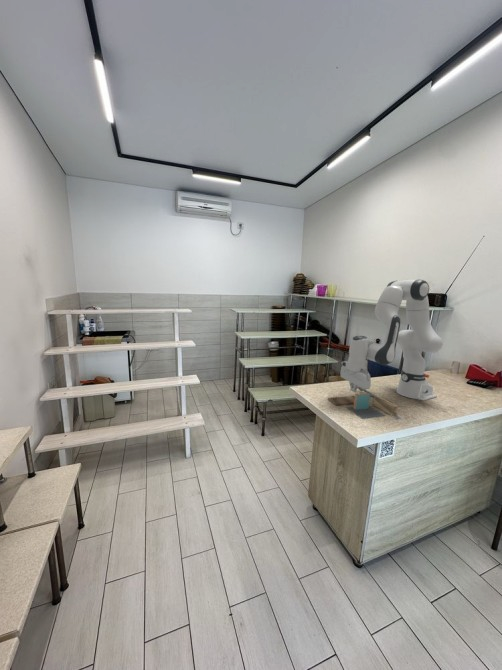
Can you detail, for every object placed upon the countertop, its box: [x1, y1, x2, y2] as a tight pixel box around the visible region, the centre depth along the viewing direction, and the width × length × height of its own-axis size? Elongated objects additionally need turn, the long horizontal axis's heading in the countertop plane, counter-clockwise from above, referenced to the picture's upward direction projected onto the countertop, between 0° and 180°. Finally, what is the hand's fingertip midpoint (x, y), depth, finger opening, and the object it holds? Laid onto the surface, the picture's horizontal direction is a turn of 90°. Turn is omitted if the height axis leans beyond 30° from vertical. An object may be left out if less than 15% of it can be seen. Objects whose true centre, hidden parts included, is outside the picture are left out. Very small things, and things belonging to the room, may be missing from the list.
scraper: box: [373, 396, 405, 420], centre depth 130 cm, size 5×16×5 cm, turn 16°
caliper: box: [357, 387, 379, 399], centre depth 151 cm, size 20×1×6 cm, turn 33°
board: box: [327, 395, 355, 407], centre depth 141 cm, size 20×8×1 cm, turn 106°
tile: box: [352, 392, 371, 410], centre depth 132 cm, size 8×2×8 cm, turn 106°
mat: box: [346, 405, 386, 420], centre depth 129 cm, size 14×12×1 cm
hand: (353, 390), depth 138 cm, fingers closed
